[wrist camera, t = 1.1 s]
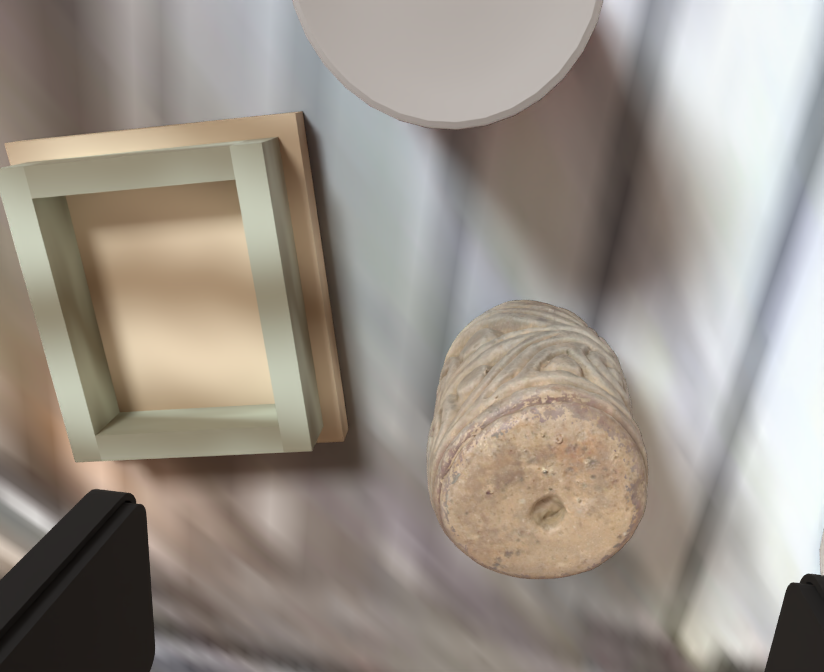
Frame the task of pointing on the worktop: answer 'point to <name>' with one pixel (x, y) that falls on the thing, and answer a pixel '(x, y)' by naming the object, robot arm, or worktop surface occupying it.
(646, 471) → the carving
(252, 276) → the beige shallow tray
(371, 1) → the canned food
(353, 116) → the worktop surface
